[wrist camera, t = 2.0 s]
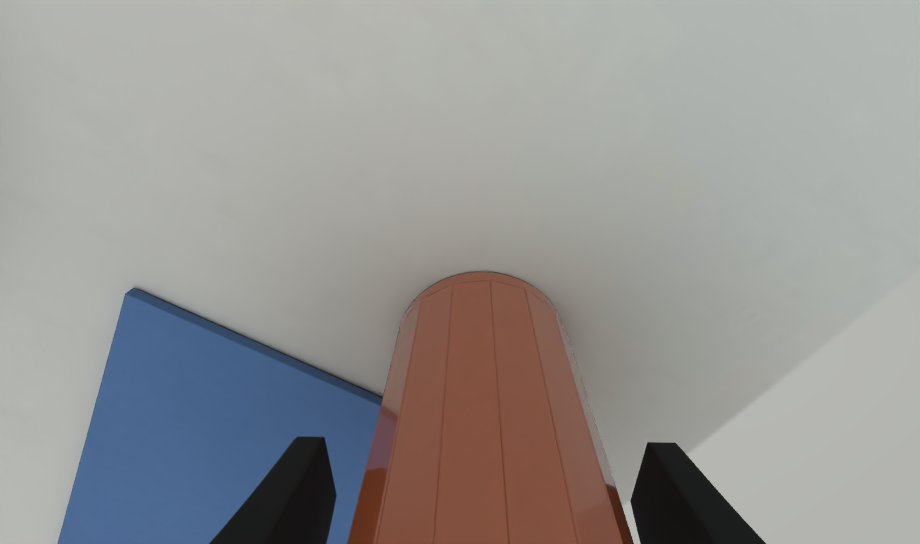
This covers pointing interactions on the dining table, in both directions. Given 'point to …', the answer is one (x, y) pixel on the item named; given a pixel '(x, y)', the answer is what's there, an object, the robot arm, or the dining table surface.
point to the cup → (486, 428)
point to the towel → (203, 430)
